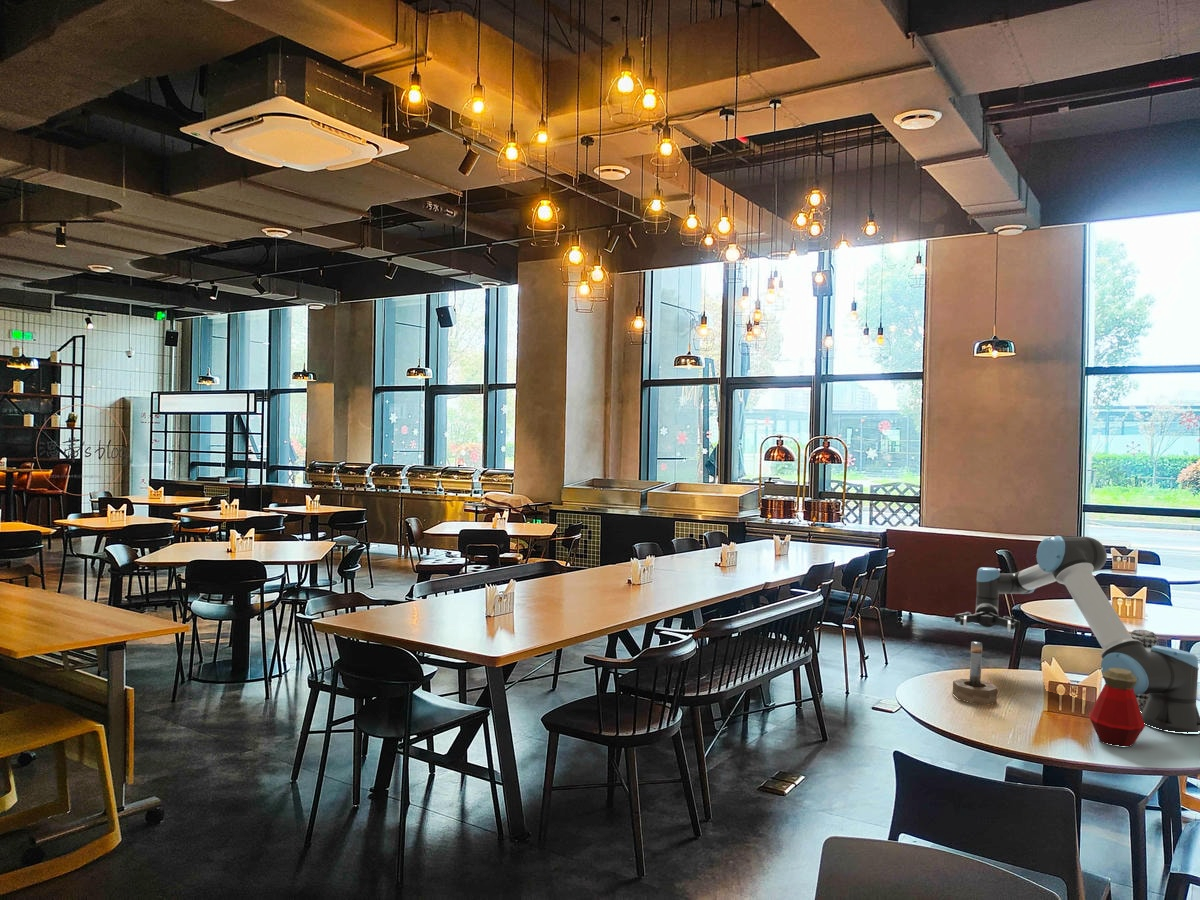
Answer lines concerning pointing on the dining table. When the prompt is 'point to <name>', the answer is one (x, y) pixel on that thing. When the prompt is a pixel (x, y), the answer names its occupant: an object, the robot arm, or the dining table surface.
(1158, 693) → the robot arm
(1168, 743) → the dining table surface
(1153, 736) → the dining table surface
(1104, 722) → the bottle
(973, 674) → the copper-banded metal rod
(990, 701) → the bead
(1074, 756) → the dining table surface
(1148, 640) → the decorative candle
